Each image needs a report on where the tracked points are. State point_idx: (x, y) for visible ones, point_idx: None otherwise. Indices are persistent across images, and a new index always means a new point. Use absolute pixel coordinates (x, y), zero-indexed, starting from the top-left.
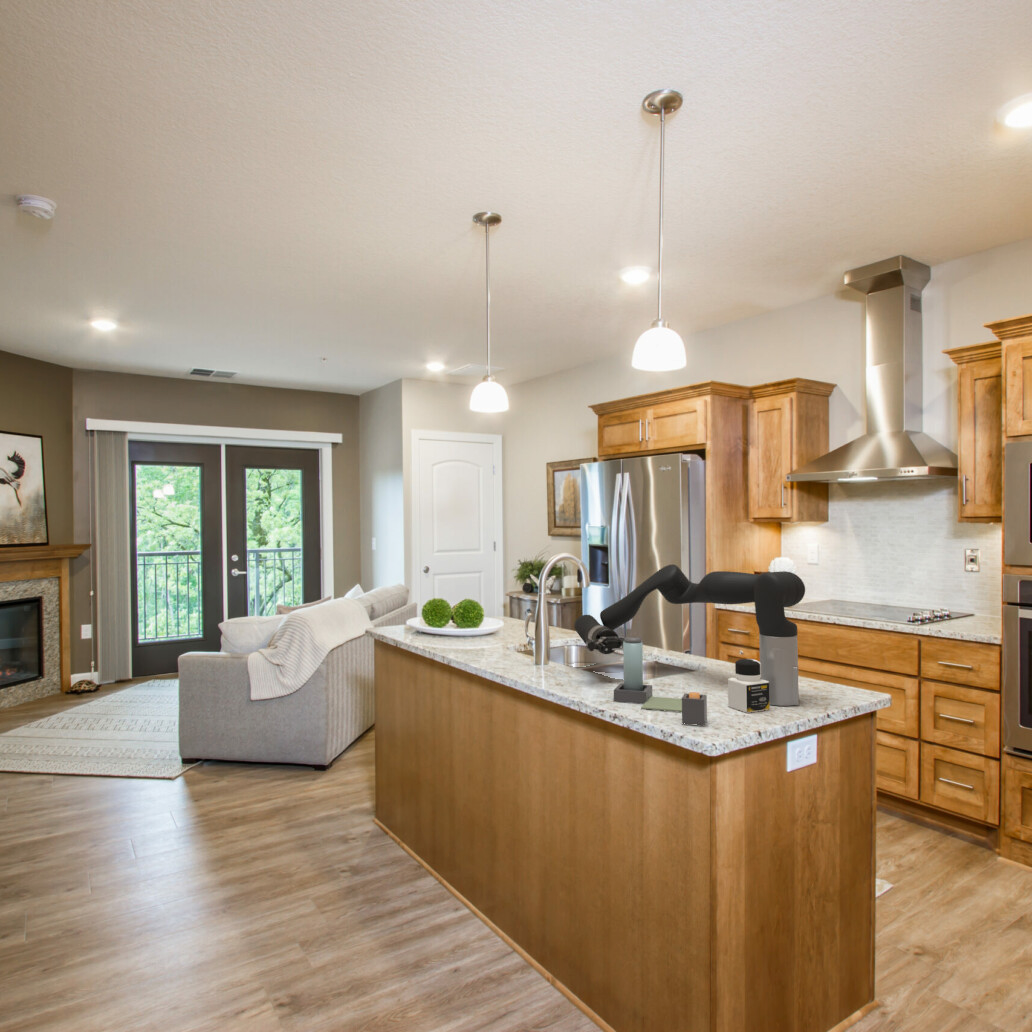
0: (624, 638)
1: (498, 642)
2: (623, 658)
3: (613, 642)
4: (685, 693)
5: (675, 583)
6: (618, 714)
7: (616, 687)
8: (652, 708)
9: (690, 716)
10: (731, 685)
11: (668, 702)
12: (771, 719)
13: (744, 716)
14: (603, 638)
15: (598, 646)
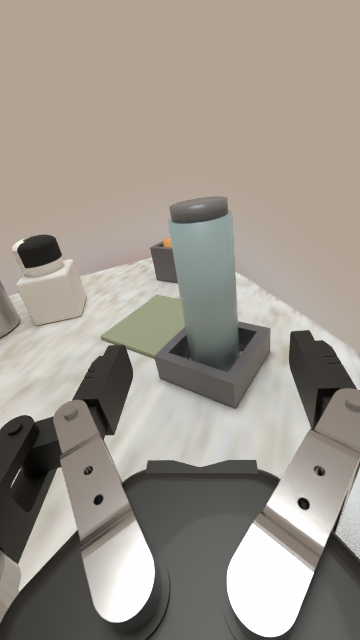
0: (226, 200)
1: None
2: (234, 268)
3: (191, 470)
4: (172, 249)
5: None
6: (272, 295)
7: (258, 345)
8: None
9: None
10: (70, 279)
11: (161, 326)
12: (83, 283)
13: (101, 290)
14: (299, 509)
15: (340, 367)
